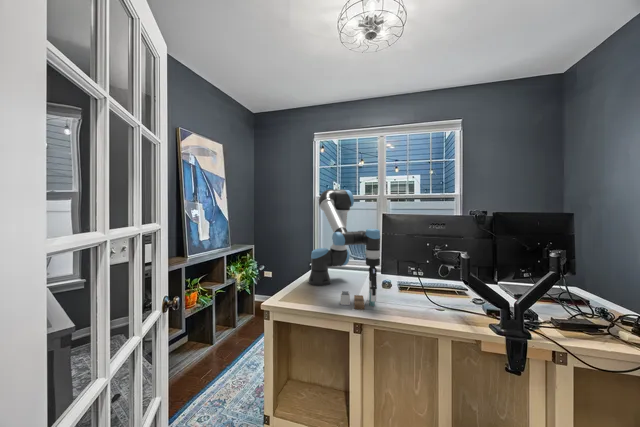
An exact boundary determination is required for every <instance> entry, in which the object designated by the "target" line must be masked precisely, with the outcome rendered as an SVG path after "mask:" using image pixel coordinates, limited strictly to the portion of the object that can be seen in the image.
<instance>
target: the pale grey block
mask: <svg viewBox="0 0 640 427" xmlns="http://www.w3.org/2000/svg"><path fill="white" fill-rule="evenodd" d="M350 303H351V293H350V292H349V291H346V290H345V291H344V290H342V291H341V292H340V305H343V306H344V305H345V306H347V305H348V306H349V305H351V304H350Z"/></svg>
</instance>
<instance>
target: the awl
mask: <svg viewBox="0 0 640 427" xmlns="http://www.w3.org/2000/svg"><path fill="white" fill-rule="evenodd" d="M368 294H369V295H368V296H369V298H368V299H369V300H368V301H369V302H368V303H369V304H368V306H371V307H375V306H376V302H375V301H371V289H370V292H369V291H368Z"/></svg>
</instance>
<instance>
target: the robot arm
mask: <svg viewBox="0 0 640 427" xmlns="http://www.w3.org/2000/svg"><path fill="white" fill-rule="evenodd" d="M354 203H355V198H354V194H353V193H352V191H351V190H348V189H332V188H331V189H330V188H329V189H326V190H324V191H323V192H322V193H321V194H320V196H319V199H318V204H319V208H320V209H321V210H322V211H323V212H324V215H325V217H326V219H327V221H328V223H329V226H330V228H331V230H332V232H333V234H332V236H331V238H332V239H331V240H332V245H331V246H330V248H327V247H320V248H315V249H313V250H312V251H311V255H310V259H311V260H310V265H311V266H310V268H311V269H310V274H309V277H308V284H309V285H312V286H317V287H319V286H321V287H322V286H327V285H330V284H331V277H330V274H329V268H331V267H332V268H333V267H342V266H343V267H344V266H347V264H349V262H350V251H349V250H348V247H347V246H356V245H357V246H358V245H359V246H360V245H365V251H364V254H365V257H366V258H365V265H366V266H368V280H369V281H368V284H369V285H368V293H369V292H370V289H371V301H375V303H376V302H377V289H378V285H377V284H378V283H377V282H378V281H377V273H378V269H377V267H379V266H380V264H381V258H380V257H381V231H380V229H378V228H367V229H366V230H357V231H348V230H347V223H348V222H347V220H348V212H349V211H351V208H352V207H353V206H354Z"/></svg>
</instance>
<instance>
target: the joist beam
mask: <svg viewBox="0 0 640 427" xmlns="http://www.w3.org/2000/svg"><path fill="white" fill-rule="evenodd" d="M353 299H354V300H353V301H354V303H353V304H354V310H365V301H364V295H359V294H358V295H357V294H354V297H353Z"/></svg>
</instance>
